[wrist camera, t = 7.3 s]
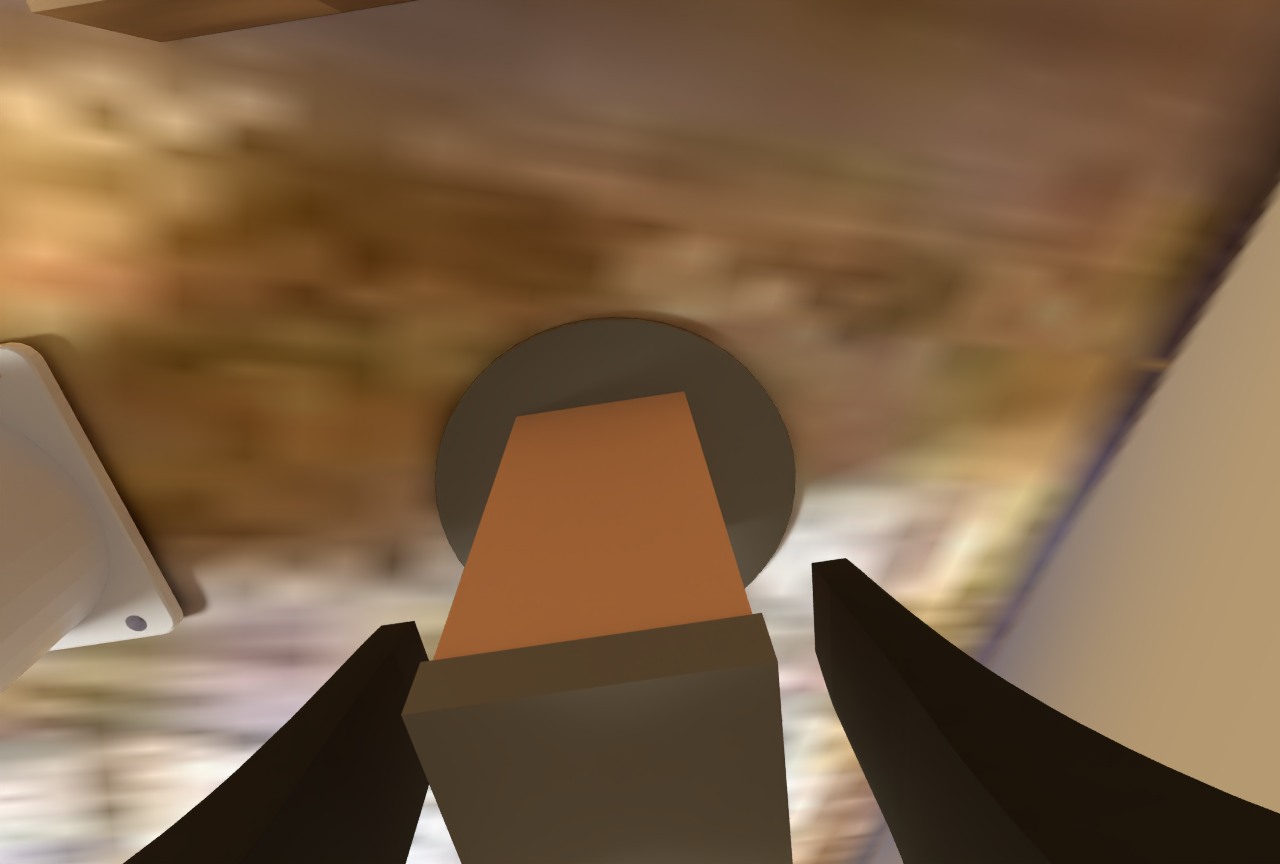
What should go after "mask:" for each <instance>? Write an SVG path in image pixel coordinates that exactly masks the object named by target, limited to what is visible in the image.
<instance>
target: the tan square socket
mask: <svg viewBox="0 0 1280 864" xmlns="http://www.w3.org/2000/svg"><path fill="white" fill-rule="evenodd" d="M26 1H27V3H28V5H29V8H30V10H31V12H32V13H36V14H41V15H45V16H49V17H54V18H58V19H62V20H67V21H71V22H76V23H80V24H84V25H89V26H93V27H97V28H102V29H106V30H110V31H115V32H119V33H124V34H128V35H132V36H137V37H141V38H145V39H150V40H154V41H158V42H164V41H171V40H177V39H183V38H189V37H195V36H201V35H207V34H213V33H219V32H225V31H232V30H238V29H244V28H250V27H256V26H262V25H268V24H274V23H280V22H286V21H293V20H299V19H305V18H311V17H317V16H323V15H329V14H335V13H341V12H347V11H354V10H360V9H366V8H372V7H378V6H384V5H390V4H396V3H402V2H408V1H415V0H26Z"/></svg>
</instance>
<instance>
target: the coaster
mask: <svg viewBox="0 0 1280 864" xmlns="http://www.w3.org/2000/svg"><path fill="white" fill-rule="evenodd" d="M683 391H684V392H685V395H686V399H687V402H688V405H689V408H690V412H691V415H692V418H693V421H694V425H695V428H696V431H697V435H698V438H699V441H700V444H701V448H702V451H703V454H704V458H705V461H706V464H707V467H708V471H709V474H710V477H711V480H712V484H713V487H714V490H715V494H716V497H717V500H718V503H719V507H720V510H721V513H722V517H723V520H724V523H725V526H726V530H727V533H728V536H729V540H730V543H731V546H732V549H733V553H734V556H735V559H736V562H737V566H738V569H739V572H740V576H741V579H742V582H743V585H744V589H745V588H746V587H747V586H748V585H749V584H750V583H751V582H752V581H753V580H754V579H755V578H756V576H757V575H758V574H759V573H760V572H761V571H762V569H763V568H764V567H765V566H766V564H767V563H768V561H769V560H770V558H771V557H772V555H773V554H774V552H775V551H776V549H777V547H778V545H779V543H780V541H781V539H782V537H783V534H784V532H785V530H786V527H787V524H788V521H789V518H790V514H791V511H792V505H793V499H794V493H795V465H794V458H793V450H792V447H791V443H790V440H789V436H788V433H787V429H786V427H785V425H784V423H783V421H782V418H781V416H780V414H779V412H778V410H777V408H776V407H775V405H774V404H773V402H772V400H771V399H770V397H769V396H768V394H767V393H766V391H765V390H764V388H763V387H762V385H761V384H760V383H759V382H758V381H757V379H756V378H755V377H754V376H753V375H752V374H751V373H750V372H749V370H748V369H747V368H746V367H744V366H743V365H742V364H741V363H740V362H739V361H737V360H736V359H735V358H734V357H733V356H732V355H730V354H729V353H728V352H726V351H725V350H723V349H721V348H720V347H718V346H717V345H715V344H714V343H712V342H711V341H709V340H707V339H705V338H703V337H700V336H698V335H696V334H694V333H692V332H690V331H687V330H685V329H681V328H678V327H675V326H672V325H668V324H665V323H661V322H656V321H650V320H644V319H638V318H616V317H610V318H599V319H588V320H582V321H578V322H573V323H569V324H564V325H560V326H558V327H555V328H552V329H549V330H547V331H544V332H541V333H538V334H536V335H534V336H532V337H530V338H528V339H527V340H525V341H523V342H521V343H519V344H517V345H515V346H514V347H512V348H511V349H510V350H508V351H507V352H505V353H504V354H503V355H501V356H500V357H498V358H497V359H496V360H494V361H493V362H492V363H491V364H490V365H489V366H488V367H487V368H486V369H485V370H484V371H483V372H482V373H481V374H480V375H479V376H478V377H477V378H476V379H475V381H474V382H473V383H472V384H471V386H470V387H469V388H468V389H467V391H466V392H465V393H464V395H463V396H462V398H461V400H460V402H459V403H458V405H457V407H456V409H455V410H454V412H453V414H452V416H451V417H450V419H449V421H448V424H447V426H446V429H445V432H444V434H443V437H442V439H441V443H440V447H439V452H438V456H437V461H436V475H435V489H436V501H437V507H438V511H439V515H440V519H441V523H442V526H443V529H444V531H445V534H446V536H447V539H448V541H449V543H450V545H451V547H452V549H453V550H454V552H455V554H456V556H457V557H458V559H459V561H460V562H461V563H462V565H463V566H464V567H465V565H466V563H467V560H468V557H469V554H470V551H471V548H472V545H473V542H474V539H475V536H476V533H477V530H478V527H479V525H480V522H481V519H482V516H483V513H484V510H485V507H486V504H487V501H488V498H489V495H490V492H491V489H492V486H493V484H494V481H495V478H496V475H497V472H498V469H499V466H500V463H501V460H502V457H503V454H504V451H505V448H506V445H507V443H508V440H509V437H510V434H511V431H512V428H513V425H514V422H515V419H516V417H517V416H524V415H531V414H537V413H544V412H550V411H557V410H564V409H570V408H577V407H583V406H590V405H597V404H603V403H610V402H617V401H623V400H630V399H636V398H643V397H650V396H656V395H663V394H670V393H676V392H683Z"/></svg>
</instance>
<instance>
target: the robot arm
mask: <svg viewBox="0 0 1280 864" xmlns="http://www.w3.org/2000/svg"><path fill="white" fill-rule="evenodd" d="M0 374H1V376H0V694H1V693H2V692H3V691H4V690H5V689H6V688H7V687H9V686H10V685H11V684H12V683H13V682H14V681H15V680H16V679H17V678H19V677H20V676H21V675H22V674H23V673H24V672H25V671H26V670H27V669H29V668H30V667H31V666H32V665H33V664H34V663H35V662H36V661H37V660H38V659H40V658H41V657H42V656H43V655H44V654H45V653H46V652H47V651H53V650H59V649H66V648H73V647H80V646H87V645H94V644H100V643H107V642H114V641H121V640H128V639H135V638H141V637H148V636H155V635H162V634H166V633H169V632H171V631H172V630H173V629H174V628H175V627H176V626H177V625H178V624H179V623H180V622H181V621H182V618H183V613H182V609H181V607H180V606H179V604H178V602H177V600H176V598H175V596H174V595H173V593H172V591H171V589H170V587H169V586H168V584H167V582H166V580H165V578H164V576H163V575H162V573H161V571H160V569H159V567H158V566H157V564H156V562H155V560H154V558H153V556H152V555H151V553H150V551H149V549H148V547H147V545H146V544H145V542H144V540H143V538H142V536H141V535H140V533H139V531H138V529H137V527H136V525H135V524H134V522H133V520H132V518H131V516H130V514H129V513H128V511H127V509H126V507H125V505H124V504H123V502H122V500H121V498H120V496H119V494H118V493H117V491H116V489H115V487H114V485H113V484H112V482H111V480H110V478H109V476H108V474H107V473H106V471H105V469H104V467H103V465H102V463H101V462H100V460H99V458H98V456H97V454H96V453H95V451H94V449H93V447H92V445H91V443H90V442H89V440H88V438H87V436H86V434H85V433H84V431H83V429H82V427H81V425H80V423H79V422H78V420H77V418H76V416H75V414H74V412H73V411H72V409H71V407H70V405H69V403H68V402H67V400H66V398H65V396H64V394H63V392H62V391H61V389H60V387H59V385H58V383H57V381H56V380H55V378H54V376H53V374H52V372H51V371H50V369H49V367H48V365H47V363H46V361H45V360H44V359H43V357H42V356H41V355H40V353H39V352H37V351H36V350H35V349H33V348H32V347H30V346H28V345H25V344H22V343H14V342H10V343H4V344H0ZM812 584H813V608H814V632H815V652H816V655H817V658H818V661H819V664H820V668H821V671H822V674H823V677H824V680H825V683H826V686H827V689H828V692H829V695H830V698H831V701H832V704H833V706H834V709H835V711H836V713H837V715H838V718H839V720H840V722H841V724H842V726H843V729H844V731H845V733H846V735H847V737H848V740H849V742H850V744H851V746H852V748H853V751H854V753H855V755H856V757H857V759H858V761H859V764H860V766H861V768H862V770H863V772H864V774H865V777H866V779H867V781H868V783H869V785H870V788H871V790H872V792H873V794H874V796H875V798H876V801H877V803H878V805H879V807H880V809H881V811H882V814H883V816H884V818H885V820H886V822H887V824H888V827H889V829H890V831H891V834H892V836H893V838H894V841H895V843H896V846H897V848H898V850H899V853H900V855H901V858H902V860H903V863H904V864H1280V814H1279V813H1277V812H1274V811H1272V810H1269V809H1266V808H1264V807H1261V806H1259V805H1256V804H1254V803H1251V802H1248V801H1245V800H1243V799H1241V798H1238V797H1236V796H1233V795H1231V794H1229V793H1226V792H1224V791H1221V790H1219V789H1217V788H1215V787H1212V786H1210V785H1208V784H1205V783H1203V782H1201V781H1199V780H1196V779H1194V778H1192V777H1190V776H1187V775H1185V774H1183V773H1181V772H1178V771H1176V770H1174V769H1171V768H1169V767H1167V766H1165V765H1163V764H1161V763H1158V762H1156V761H1154V760H1152V759H1150V758H1148V757H1146V756H1144V755H1142V754H1139V753H1137V752H1135V751H1133V750H1131V749H1129V748H1127V747H1125V746H1123V745H1121V744H1119V743H1117V742H1115V741H1113V740H1111V739H1109V738H1107V737H1105V736H1103V735H1102V734H1100V733H1098V732H1096V731H1094V730H1092V729H1090V728H1088V727H1086V726H1084V725H1082V724H1080V723H1078V722H1076V721H1075V720H1073V719H1071V718H1069V717H1067V716H1066V715H1064V714H1062V713H1060V712H1058V711H1056V710H1055V709H1053V708H1051V707H1049V706H1048V705H1046V704H1044V703H1043V702H1041V701H1039V700H1038V699H1036V698H1034V697H1033V696H1031V695H1029V694H1028V693H1026V692H1024V691H1023V690H1021V689H1019V688H1018V687H1016V686H1014V685H1013V684H1011V683H1009V682H1007V681H1006V680H1004V679H1003V678H1001V677H1000V676H998V675H997V674H995V673H994V672H992V671H990V670H989V669H987V668H986V667H984V666H983V665H982V664H980V663H979V662H977V661H976V660H974V659H973V658H971V657H970V656H969V655H967V654H966V653H964V652H963V651H961V650H960V649H959V648H957V647H956V646H954V645H953V644H952V643H950V642H949V641H948V640H946V639H945V638H944V637H942V636H941V635H940V634H938V633H937V632H936V631H934V630H933V629H932V628H931V627H929V626H928V625H927V624H925V623H924V622H923V621H921V620H920V619H919V618H918V617H916V616H915V615H914V614H912V613H911V612H910V611H909V610H907V609H906V608H905V607H904V606H903V605H901V604H900V603H899V602H898V601H896V600H895V599H894V598H893V597H892V596H890V595H889V594H888V593H887V592H886V591H884V590H883V589H882V588H881V587H880V586H879V585H877V584H876V583H875V582H874V581H873V580H871V579H870V578H869V577H868V576H867V575H866V574H864V573H863V572H862V571H861V570H860V569H859V568H857V567H856V566H855V565H854V564H853V563H851V562H850V561H849V560H848V559H846V558H843V559H836V560H829V561H823V562H816V563H812ZM138 616H139V617H141V618H143V619H144V620H145V621H144V620H142V619H140V618H139V617H138ZM425 661H429V659H428V657H427V654H426V651H425V649H424V646H423V643H422V640H421V638H420V635H419V632H418V629H417V627H416V624H415V621H410V622H403V623H396V624H390V625H383V626H381V627H380V628H378V629H377V630H376V631H375V632H374V633H373V634H372V635H371V636H370V637H369V638H368V639H367V640H366V641H365V642H364V643H363V644H362V645H361V646H360V647H359V648H358V649H357V650H356V652H355V653H354V654H353V655H352V656H351V657H350V658H349V659H348V660H347V661H346V662H345V663H344V664H343V665H342V666H341V667H340V668H339V669H338V670H337V671H336V672H335V674H334V675H333V676H332V677H331V678H330V679H329V680H328V681H327V682H326V683H325V684H324V685H323V686H322V687H321V688H320V689H319V690H318V691H317V692H316V693H315V694H314V695H313V696H312V697H311V698H310V699H309V700H308V701H307V702H306V704H305V705H304V706H303V707H302V708H301V709H300V710H299V711H298V712H297V713H296V714H295V715H294V716H293V717H292V718H291V719H290V720H289V721H288V722H287V723H286V724H285V725H284V726H283V727H281V728H280V729H279V730H278V731H277V732H276V733H275V734H274V735H273V736H272V737H271V738H270V739H269V740H268V741H267V742H266V743H265V744H264V745H263V746H262V747H261V748H260V749H259V750H258V751H256V752H255V753H254V754H253V755H252V756H251V757H250V758H249V759H248V760H247V761H246V762H245V763H244V764H243V765H242V766H241V767H240V768H239V769H238V770H236V771H235V772H234V773H233V774H232V775H231V776H230V777H229V778H228V779H227V780H225V781H224V782H223V783H222V784H221V785H220V786H219V787H217V788H216V789H215V790H214V791H213V792H212V793H211V794H209V795H208V796H207V797H206V798H205V799H204V800H202V801H201V802H200V803H199V804H198V805H196V806H195V807H194V808H193V809H192V810H190V811H189V812H188V813H187V814H186V815H184V816H183V817H182V818H181V819H180V820H179V821H177V822H176V823H175V824H174V825H172V826H171V827H170V828H169V829H167V830H166V831H165V832H164V833H163V834H161V835H160V836H159V837H157V838H156V839H155V840H153V841H152V842H151V843H150V844H148V845H147V846H146V847H144V848H143V849H142V850H140V851H139V852H138V853H136V854H135V855H134V856H132V857H131V858H130V859H128V860H127V861H126V862H124V863H123V864H406V861H407V857H408V854H409V850H410V847H411V844H412V840H413V837H414V834H415V830H416V827H417V824H418V820H419V817H420V814H421V810H422V807H423V803H424V800H425V797H426V793H427V790H428V786H429V782H428V780H427V777H426V775H425V772H424V770H423V768H422V765H421V763H420V760H419V758H418V755H417V753H416V750H415V748H414V745H413V743H412V740H411V738H410V736H409V733H408V731H407V728H406V726H405V723H404V721H403V718H402V716H401V714H402V711H403V709H404V706H405V703H406V700H407V698H408V695H409V692H410V689H411V687H412V684H413V681H414V678H415V676H416V673H417V670H418V667H419V665H420V662H425Z"/></svg>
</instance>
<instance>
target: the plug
mask: <svg viewBox="0 0 1280 864" xmlns="http://www.w3.org/2000/svg"><path fill="white" fill-rule="evenodd" d="M401 716H402V718H403V721H404V723H405V726H406V728H407V731H408V733H409V736H410V738H411V740H412V743H413V745H414V748H415V750H416V753H417V755H418V758H419V760H420V763H421V765H422V768H423V770H424V772H425V775H426V777H427V780H428V782H429V785H430V787H431V790H432V792H433V795H434V797H435V799H436V802H437V804H438V807H439V809H440V812H441V814H442V817H443V819H444V822H445V824H446V826H447V829H448V831H449V834H450V836H451V839H452V841H453V844H454V846H455V849H456V851H457V854H458V856H459V858H460V861H461V863H462V864H793V862H792V849H791V835H790V822H789V808H788V795H787V781H786V768H785V754H784V741H783V727H782V714H781V700H780V687H779V673H778V661H777V658H776V655H775V652H774V649H773V646H772V643H771V639H770V636H769V633H768V630H767V627H766V624H765V621H764V618H763V615H762V613H758V614H752V612H751V608H750V605H749V602H748V599H747V595H746V592H745V589H744V585H743V582H742V579H741V576H740V572H739V569H738V566H737V562H736V559H735V556H734V553H733V549H732V546H731V543H730V540H729V536H728V533H727V530H726V526H725V523H724V520H723V517H722V513H721V510H720V507H719V503H718V500H717V497H716V494H715V490H714V487H713V484H712V480H711V477H710V474H709V471H708V467H707V464H706V461H705V458H704V454H703V451H702V448H701V444H700V441H699V438H698V435H697V431H696V428H695V425H694V421H693V418H692V415H691V412H690V408H689V405H688V402H687V399H686V395H685V392H684V391H683V392H676V393H670V394H663V395H656V396H650V397H643V398H636V399H630V400H623V401H617V402H610V403H603V404H597V405H590V406H583V407H577V408H570V409H564V410H557V411H550V412H544V413H537V414H531V415H524V416H517V417H516V419H515V422H514V425H513V428H512V431H511V434H510V437H509V440H508V443H507V445H506V448H505V451H504V454H503V457H502V460H501V463H500V466H499V469H498V472H497V475H496V478H495V481H494V484H493V486H492V489H491V492H490V495H489V498H488V501H487V504H486V507H485V510H484V513H483V516H482V519H481V522H480V525H479V527H478V530H477V533H476V536H475V539H474V542H473V545H472V548H471V551H470V554H469V557H468V560H467V563H466V565H465V568H464V571H463V574H462V577H461V580H460V583H459V586H458V589H457V592H456V595H455V598H454V601H453V604H452V606H451V609H450V612H449V615H448V618H447V621H446V624H445V627H444V630H443V633H442V636H441V639H440V642H439V644H438V647H437V650H436V653H435V656H434V659H433V660H432V661H425V662H420V665H419V667H418V670H417V673H416V676H415V678H414V681H413V684H412V687H411V689H410V692H409V695H408V698H407V700H406V703H405V706H404V709H403V711H402V714H401Z"/></svg>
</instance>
